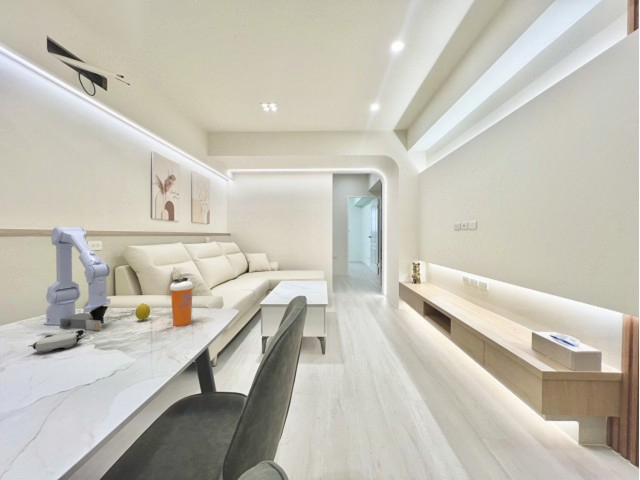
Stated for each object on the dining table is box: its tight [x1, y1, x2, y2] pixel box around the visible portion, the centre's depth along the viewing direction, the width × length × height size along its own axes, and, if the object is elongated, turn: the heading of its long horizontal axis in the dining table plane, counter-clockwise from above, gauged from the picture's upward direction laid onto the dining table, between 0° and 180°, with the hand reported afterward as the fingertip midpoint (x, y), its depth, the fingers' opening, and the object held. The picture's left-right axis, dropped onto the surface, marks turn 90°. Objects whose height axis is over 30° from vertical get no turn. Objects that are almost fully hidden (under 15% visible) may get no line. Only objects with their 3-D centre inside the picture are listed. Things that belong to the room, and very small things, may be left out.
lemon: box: [135, 303, 151, 322], centre depth 115 cm, size 6×6×8 cm
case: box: [59, 312, 105, 330], centre depth 109 cm, size 12×9×5 cm
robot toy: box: [27, 329, 87, 353], centre depth 89 cm, size 12×4×15 cm
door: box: [84, 319, 102, 331], centre depth 104 cm, size 2×8×4 cm, turn 77°
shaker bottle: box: [169, 277, 194, 327], centre depth 110 cm, size 9×9×20 cm
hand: (98, 324), depth 105 cm, fingers closed, pressing on door
